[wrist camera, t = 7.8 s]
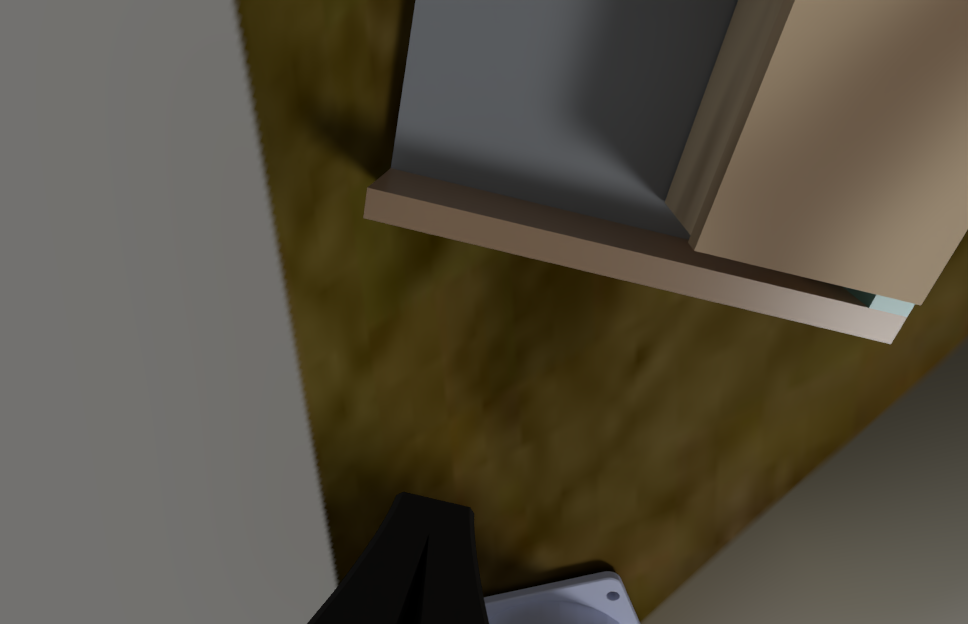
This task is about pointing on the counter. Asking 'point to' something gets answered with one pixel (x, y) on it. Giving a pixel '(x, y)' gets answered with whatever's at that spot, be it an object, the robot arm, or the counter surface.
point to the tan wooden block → (834, 143)
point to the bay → (580, 148)
